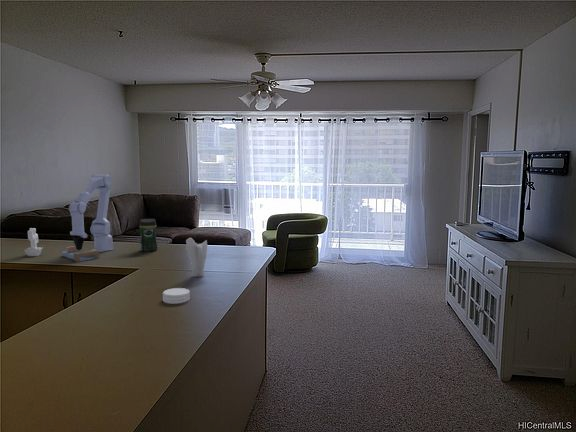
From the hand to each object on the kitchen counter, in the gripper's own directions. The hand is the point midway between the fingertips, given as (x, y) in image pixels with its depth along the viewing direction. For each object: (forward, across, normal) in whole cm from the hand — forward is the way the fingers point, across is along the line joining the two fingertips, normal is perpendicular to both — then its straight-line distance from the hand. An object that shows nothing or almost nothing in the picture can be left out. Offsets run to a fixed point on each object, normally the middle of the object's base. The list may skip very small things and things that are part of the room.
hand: (79, 249), depth 235 cm
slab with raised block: (+4, -8, 0) cm, 9 cm away
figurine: (+4, -24, -13) cm, 28 cm away
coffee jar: (+4, +12, +35) cm, 37 cm away
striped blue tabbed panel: (+4, +2, 0) cm, 5 cm away
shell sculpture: (+5, +78, +15) cm, 80 cm away
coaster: (+5, +98, -13) cm, 99 cm away
